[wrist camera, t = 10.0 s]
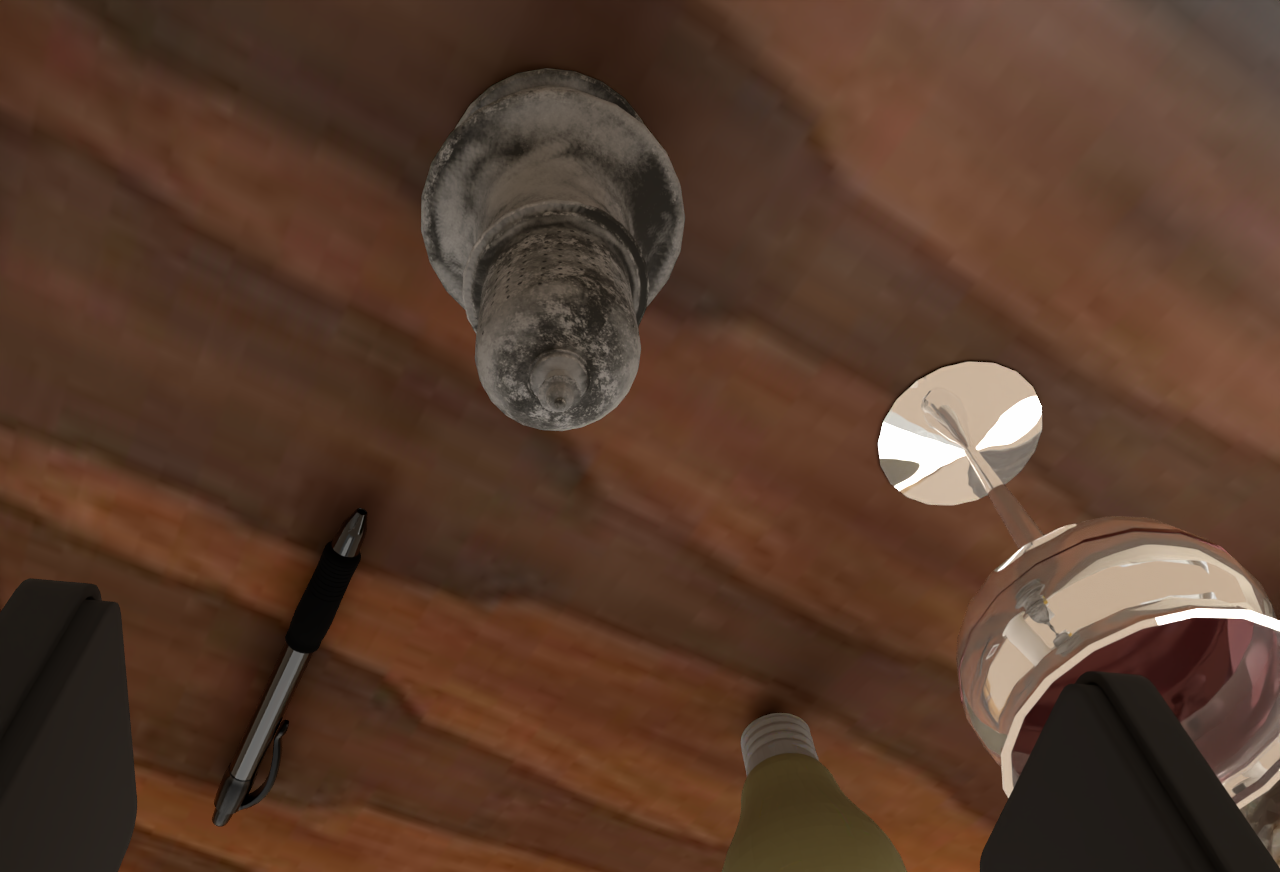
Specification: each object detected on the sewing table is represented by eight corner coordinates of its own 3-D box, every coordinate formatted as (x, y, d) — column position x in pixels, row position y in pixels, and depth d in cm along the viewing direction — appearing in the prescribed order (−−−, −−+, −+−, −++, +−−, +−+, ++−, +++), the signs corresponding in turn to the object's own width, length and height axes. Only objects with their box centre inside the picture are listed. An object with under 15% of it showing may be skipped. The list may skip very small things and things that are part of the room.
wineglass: (949, 290, 29) (1172, 551, 19) (1119, 399, 32) (1401, 685, 21) (802, 472, 32) (928, 787, 22) (969, 560, 34) (1155, 884, 24)
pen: (254, 816, 37) (247, 843, 36) (206, 804, 37) (198, 831, 36) (400, 513, 31) (396, 535, 30) (345, 493, 31) (339, 516, 30)
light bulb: (708, 655, 35) (762, 927, 27) (868, 667, 36) (970, 934, 28) (677, 773, 38) (717, 1054, 30) (827, 782, 39) (908, 1058, 30)
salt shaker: (385, 184, 27) (287, 421, 16) (541, 0, 25) (543, 137, 14) (561, 327, 29) (573, 614, 19) (716, 170, 27) (824, 392, 17)
